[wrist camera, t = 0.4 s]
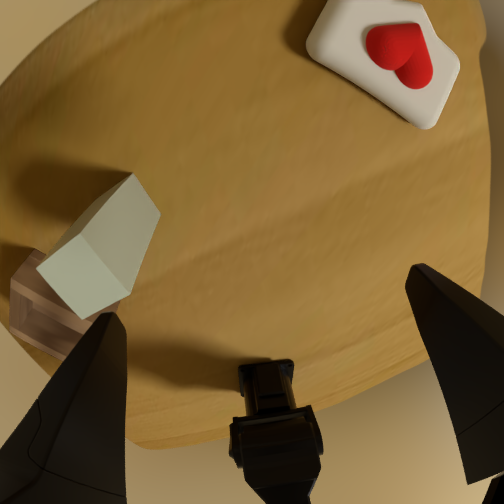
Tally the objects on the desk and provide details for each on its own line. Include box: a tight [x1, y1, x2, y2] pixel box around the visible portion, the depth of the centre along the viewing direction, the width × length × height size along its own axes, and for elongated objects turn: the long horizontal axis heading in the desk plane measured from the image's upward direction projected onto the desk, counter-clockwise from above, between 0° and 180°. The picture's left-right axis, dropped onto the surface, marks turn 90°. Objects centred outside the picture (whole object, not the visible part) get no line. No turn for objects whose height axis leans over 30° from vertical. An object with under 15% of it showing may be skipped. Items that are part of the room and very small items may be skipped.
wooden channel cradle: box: [9, 249, 121, 361], centre depth 24 cm, size 10×8×5 cm
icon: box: [306, 0, 460, 129], centre depth 15 cm, size 12×4×10 cm
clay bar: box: [36, 173, 161, 320], centre depth 18 cm, size 4×4×10 cm
